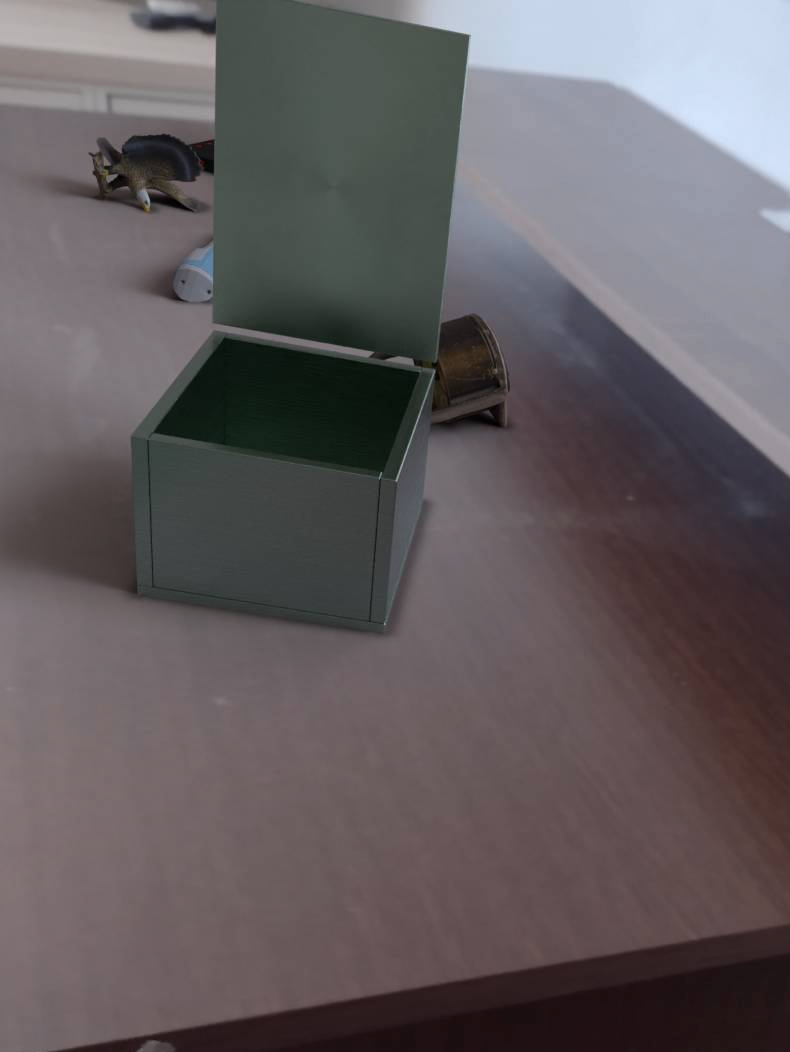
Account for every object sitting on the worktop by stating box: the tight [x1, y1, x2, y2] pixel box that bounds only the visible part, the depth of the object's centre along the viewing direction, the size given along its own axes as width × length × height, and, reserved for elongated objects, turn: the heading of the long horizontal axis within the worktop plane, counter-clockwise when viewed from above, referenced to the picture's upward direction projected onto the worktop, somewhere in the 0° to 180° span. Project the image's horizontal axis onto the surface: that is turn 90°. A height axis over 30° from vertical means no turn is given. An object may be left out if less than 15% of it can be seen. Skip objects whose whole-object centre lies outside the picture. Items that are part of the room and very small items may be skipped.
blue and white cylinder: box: [172, 239, 213, 303], centre depth 108 cm, size 19×3×3 cm, turn 3°
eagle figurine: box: [88, 133, 204, 212], centre depth 118 cm, size 8×7×9 cm
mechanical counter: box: [368, 313, 511, 428], centre depth 90 cm, size 7×13×10 cm
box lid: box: [211, 0, 472, 363], centre depth 73 cm, size 16×13×6 cm
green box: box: [130, 329, 435, 634], centre depth 72 cm, size 16×13×9 cm
